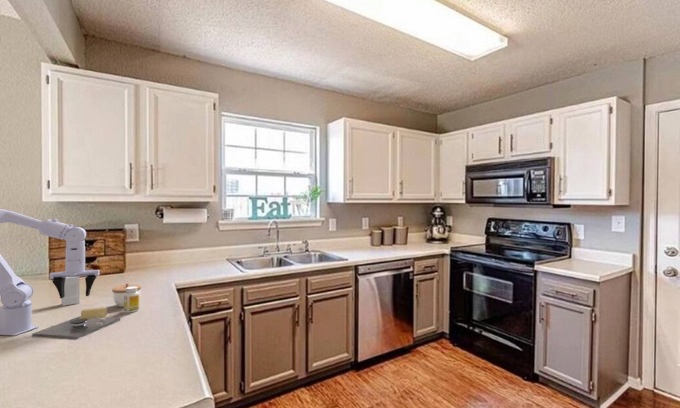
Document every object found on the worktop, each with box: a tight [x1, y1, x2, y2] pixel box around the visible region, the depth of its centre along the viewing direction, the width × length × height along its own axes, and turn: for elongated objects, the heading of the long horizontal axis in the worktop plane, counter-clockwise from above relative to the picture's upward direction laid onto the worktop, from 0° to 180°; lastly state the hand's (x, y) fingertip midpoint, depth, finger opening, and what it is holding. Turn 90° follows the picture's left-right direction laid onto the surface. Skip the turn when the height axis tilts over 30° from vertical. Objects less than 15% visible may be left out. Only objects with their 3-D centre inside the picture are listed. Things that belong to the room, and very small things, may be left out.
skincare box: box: [61, 277, 81, 307], centre depth 149 cm, size 6×4×12 cm
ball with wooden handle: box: [69, 306, 108, 324], centre depth 121 cm, size 11×5×4 cm, turn 114°
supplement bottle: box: [123, 287, 140, 314], centre depth 139 cm, size 5×5×10 cm
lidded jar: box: [111, 283, 142, 308], centre depth 147 cm, size 11×11×9 cm
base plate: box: [31, 315, 121, 340], centre depth 120 cm, size 17×18×2 cm
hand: (75, 296), depth 124 cm, fingers open, 7 cm apart
